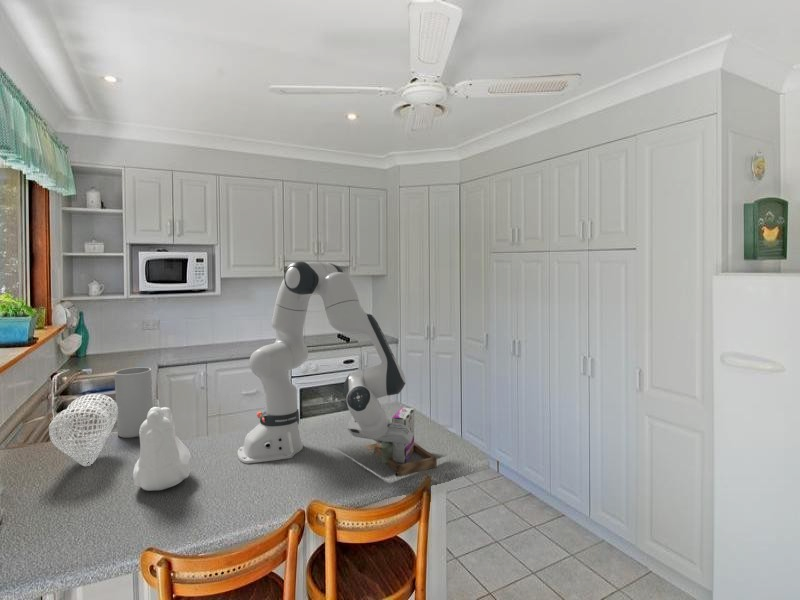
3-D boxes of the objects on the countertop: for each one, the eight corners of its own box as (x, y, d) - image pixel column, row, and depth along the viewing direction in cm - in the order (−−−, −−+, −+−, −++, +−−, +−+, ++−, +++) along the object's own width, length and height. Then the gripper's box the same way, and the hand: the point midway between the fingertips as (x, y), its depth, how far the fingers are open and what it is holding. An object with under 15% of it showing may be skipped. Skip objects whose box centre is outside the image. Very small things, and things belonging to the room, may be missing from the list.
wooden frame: (394, 477, 142) (394, 436, 141) (371, 456, 157) (370, 419, 156) (436, 466, 149) (436, 428, 148) (410, 447, 165) (410, 412, 164)
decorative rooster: (179, 498, 131) (175, 413, 129) (121, 501, 129) (116, 415, 127) (207, 460, 155) (204, 389, 153) (159, 462, 154) (155, 390, 152)
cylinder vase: (161, 428, 186) (158, 368, 184) (137, 439, 174) (133, 375, 172) (135, 426, 189) (132, 366, 187) (110, 437, 177) (106, 373, 175)
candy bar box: (400, 451, 161) (401, 406, 160) (414, 453, 160) (415, 408, 159) (391, 465, 151) (391, 416, 149) (405, 467, 149) (406, 418, 148)
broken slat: (368, 454, 160) (368, 449, 160) (364, 450, 164) (364, 445, 163) (406, 445, 167) (406, 441, 167) (401, 442, 171) (401, 438, 170)
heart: (74, 452, 163) (70, 391, 161) (124, 446, 168) (121, 387, 166) (44, 488, 136) (39, 416, 135) (104, 480, 142) (100, 410, 140)
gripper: (408, 417, 139) (419, 437, 148) (348, 410, 146) (362, 429, 156) (403, 436, 135) (414, 456, 145) (342, 428, 142) (356, 447, 152)
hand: (387, 442), depth 150 cm, fingers closed on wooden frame, 4 cm apart
